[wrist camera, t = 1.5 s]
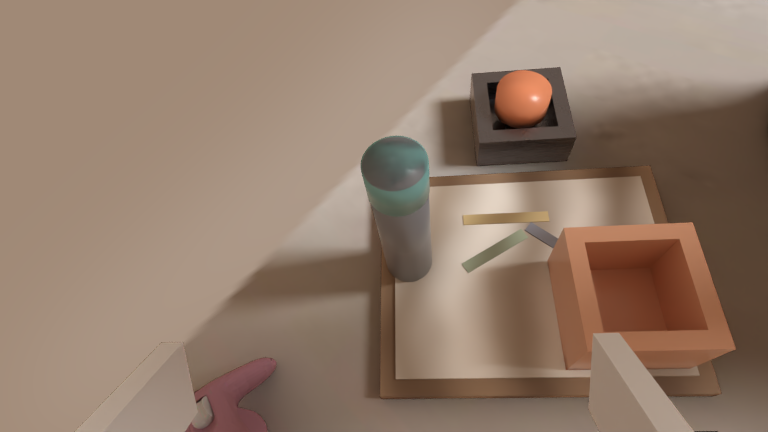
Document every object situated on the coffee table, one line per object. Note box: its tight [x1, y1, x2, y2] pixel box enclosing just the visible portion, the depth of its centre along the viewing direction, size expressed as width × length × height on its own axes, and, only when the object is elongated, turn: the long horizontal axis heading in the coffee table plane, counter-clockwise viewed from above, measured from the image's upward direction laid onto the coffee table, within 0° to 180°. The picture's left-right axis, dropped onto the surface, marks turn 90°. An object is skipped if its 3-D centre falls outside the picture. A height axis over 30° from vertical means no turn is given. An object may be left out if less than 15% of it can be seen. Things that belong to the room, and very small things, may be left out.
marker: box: [361, 136, 432, 282], centre depth 28 cm, size 3×3×12 cm
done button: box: [494, 70, 552, 128], centre depth 36 cm, size 4×4×2 cm
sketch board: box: [380, 166, 722, 399], centre depth 33 cm, size 20×16×1 cm
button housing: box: [470, 67, 576, 166], centre depth 38 cm, size 7×7×3 cm
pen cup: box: [547, 222, 736, 370], centre depth 28 cm, size 7×7×5 cm
